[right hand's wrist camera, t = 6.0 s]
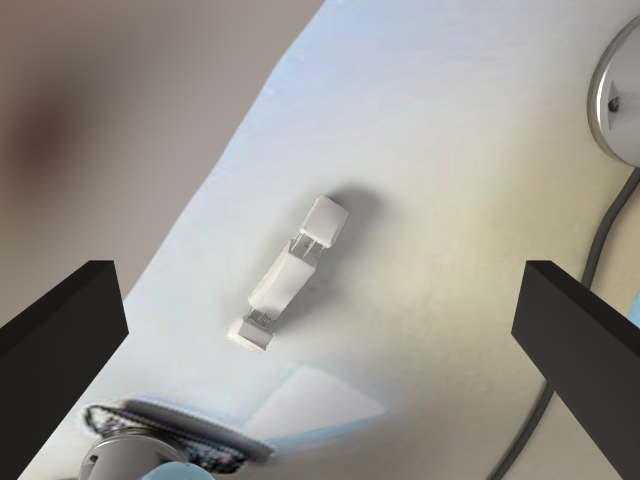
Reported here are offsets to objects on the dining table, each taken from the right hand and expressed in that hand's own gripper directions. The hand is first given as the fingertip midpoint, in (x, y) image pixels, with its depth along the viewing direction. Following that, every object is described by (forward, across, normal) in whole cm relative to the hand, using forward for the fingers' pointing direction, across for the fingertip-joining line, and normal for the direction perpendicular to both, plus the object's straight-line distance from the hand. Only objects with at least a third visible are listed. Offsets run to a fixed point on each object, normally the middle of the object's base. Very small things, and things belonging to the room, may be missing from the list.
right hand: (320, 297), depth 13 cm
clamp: (+29, +4, +13) cm, 32 cm away
